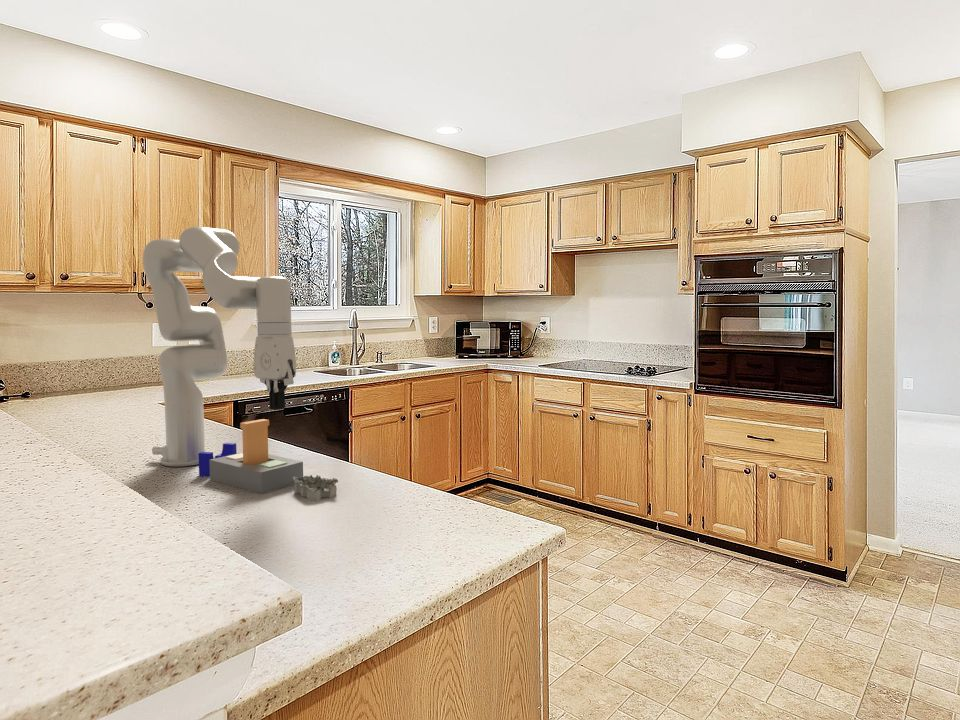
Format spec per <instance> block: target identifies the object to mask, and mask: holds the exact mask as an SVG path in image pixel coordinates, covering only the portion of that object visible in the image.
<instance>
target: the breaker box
mask: <svg viewBox="0 0 960 720" xmlns="http://www.w3.org/2000/svg"><path fill="white" fill-rule="evenodd" d="M214 458H215V457H214ZM209 464H210V477H209V480H210V481H213V482H218V483H221V484H224V485H227V486H231V487H235V488H239V489H243V490H246V491H250V492H253V493H256V494H260V495H263V494H265V493H266V494H267V493H270V492H272V491H276V490H280V489H283V488H287V487H291V486H293V485H294V486H295V481H294V479H293V476H294V477H301V476H303V477H304V461H302V460H297V459H292V458H287V457H284V456H278V455H273V454H269V453H268V462H264V463H260V464H255V465H248V464H244V463H243V451H242V452H238V453H237V454H233V455H229V456H224V457H219V458H215V459H210V460H209Z"/></svg>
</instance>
